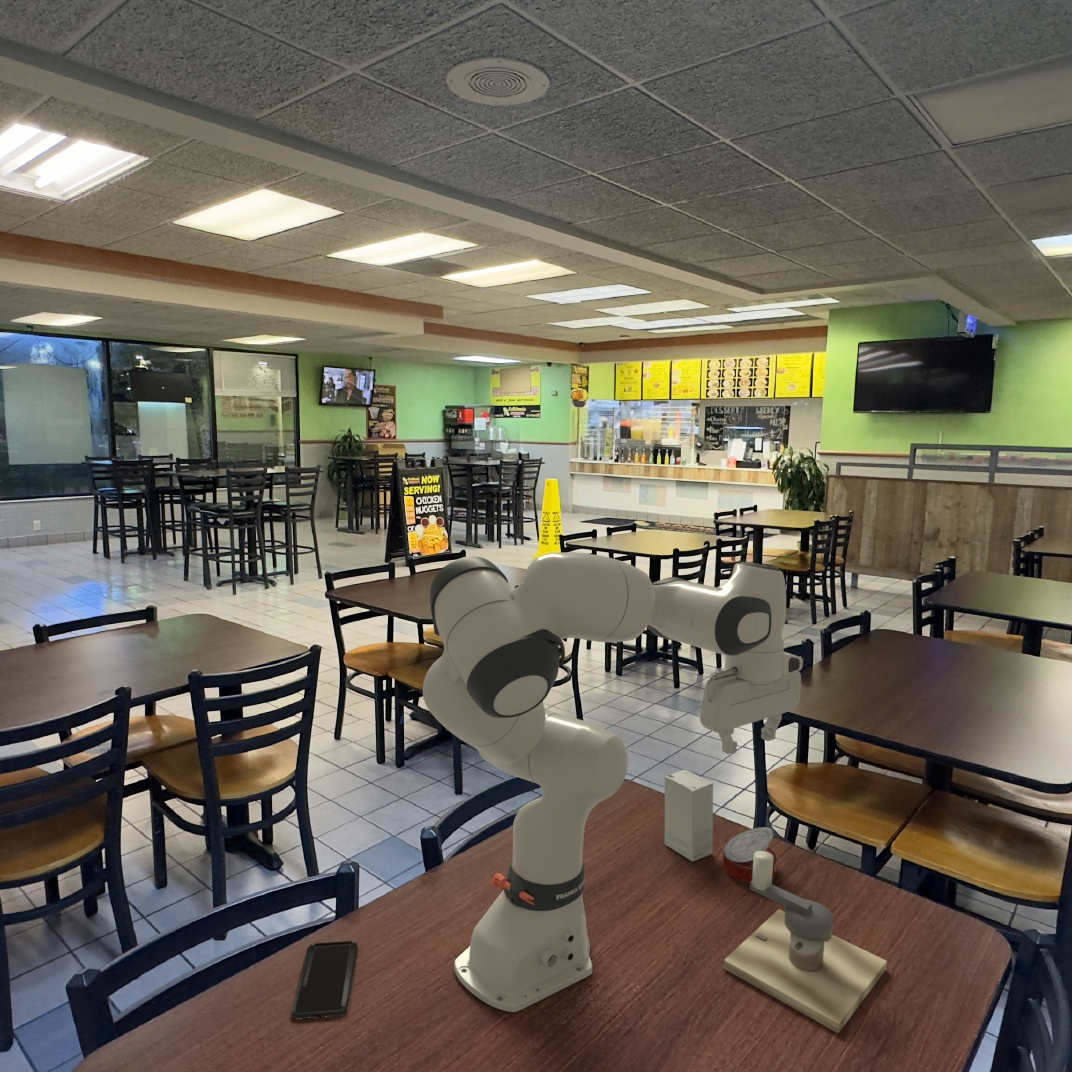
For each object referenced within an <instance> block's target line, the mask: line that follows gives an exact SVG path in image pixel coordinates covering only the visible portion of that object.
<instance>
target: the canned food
mask: <svg viewBox="0 0 1072 1072" xmlns="http://www.w3.org/2000/svg"><path fill="white" fill-rule="evenodd" d="M774 835H775V833H774V831H773V829H772V828H769V827H767V826H763V827H756V828H752V829H748V830H745V831H743V832H740V833H738V834H736V835H735V836H734V837H732V838H730V840H729V841H728V842H727V843H726V844H725V846H724V847H723V858H722V860H723V861H722V866H723V869H724V870H725V872H726V873H727V874H728V875H730V876H731V877H733V878H735V879H737V880H740V881H743V882H745V883H750V882H751V881H752V876H753V860H754V853H755V852H757V851H765V852H768V853H770V854H771V855H772V856H773V870H772V880H773V879H774V878H775V877H776V875H777V864H778V862H777V861H778V858H777V857H778V856H777V855H776V853H775V852H774V851H773V849H771V848H770V847H769V845H770V843H771V841H772V840H773V839H774Z"/></svg>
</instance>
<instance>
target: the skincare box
mask: <svg viewBox="0 0 1072 1072" xmlns="http://www.w3.org/2000/svg"><path fill="white" fill-rule="evenodd" d="M713 827H714V783H713V782H712V781H709V780H707V779H705V778H703V777H701V776H698V775H696V774H694V773H692V772H691V771H689V770H686V769H683V770H680V771H677V772H673V773H671V774H668V775H666V776H664V845H665V846H666V847H668V848H670V849H672V850H673V851H675V852H676V853H678V854H679V855H681V856H682V857H684V858H686V859H687V860H689V861H690V862H696V861H698V860H700V859H703V858H706V857H708V856H711V855H713V852H714V850H713V847H714V846H713V843H714V832H713V831H714V828H713Z"/></svg>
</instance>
